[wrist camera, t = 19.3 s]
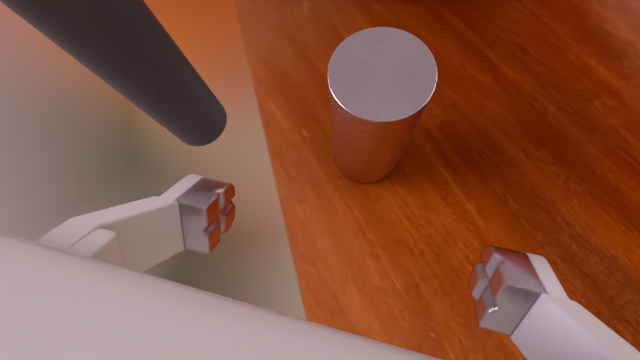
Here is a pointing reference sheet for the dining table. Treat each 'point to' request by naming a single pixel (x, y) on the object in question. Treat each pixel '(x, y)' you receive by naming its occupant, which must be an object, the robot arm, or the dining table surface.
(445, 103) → the dining table surface
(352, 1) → the dining table surface
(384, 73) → the can
